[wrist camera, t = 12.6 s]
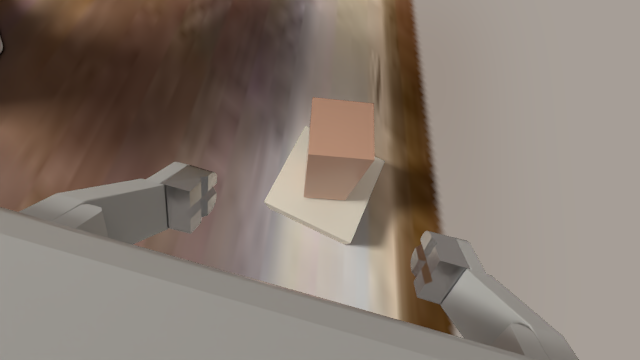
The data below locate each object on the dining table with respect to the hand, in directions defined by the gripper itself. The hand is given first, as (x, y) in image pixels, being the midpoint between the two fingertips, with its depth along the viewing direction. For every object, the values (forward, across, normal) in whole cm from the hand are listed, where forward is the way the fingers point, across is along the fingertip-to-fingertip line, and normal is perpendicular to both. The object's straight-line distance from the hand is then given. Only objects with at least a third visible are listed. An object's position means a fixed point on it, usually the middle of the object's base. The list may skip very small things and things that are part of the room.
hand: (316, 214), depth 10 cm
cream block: (+17, 0, +9) cm, 20 cm away
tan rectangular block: (+14, 0, +6) cm, 16 cm away
